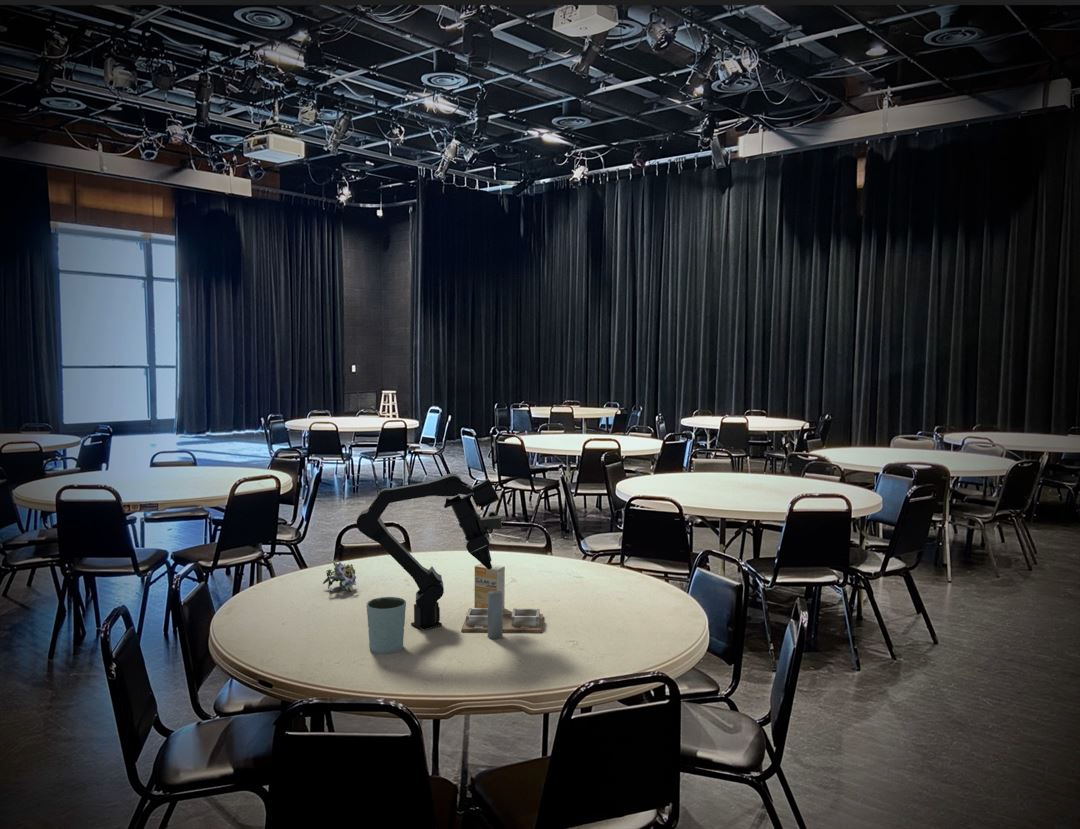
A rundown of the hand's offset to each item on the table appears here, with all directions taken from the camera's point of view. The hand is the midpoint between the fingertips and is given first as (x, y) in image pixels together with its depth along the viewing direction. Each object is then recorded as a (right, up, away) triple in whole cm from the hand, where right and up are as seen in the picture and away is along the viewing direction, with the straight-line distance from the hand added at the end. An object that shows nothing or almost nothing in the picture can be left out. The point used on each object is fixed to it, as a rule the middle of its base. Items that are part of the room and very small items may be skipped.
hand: (490, 565), depth 223 cm
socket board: (+4, -17, 0) cm, 17 cm away
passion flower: (-51, -15, +35) cm, 64 cm away
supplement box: (-1, -16, +15) cm, 22 cm away
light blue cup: (-26, -18, -19) cm, 36 cm away
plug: (+2, -17, -10) cm, 20 cm away
